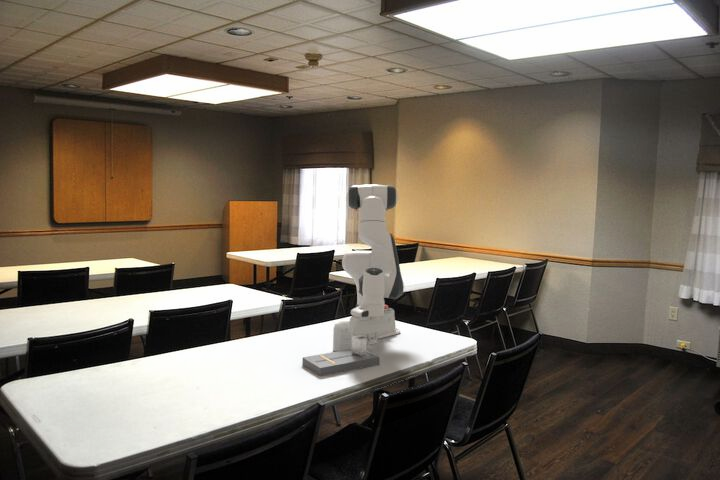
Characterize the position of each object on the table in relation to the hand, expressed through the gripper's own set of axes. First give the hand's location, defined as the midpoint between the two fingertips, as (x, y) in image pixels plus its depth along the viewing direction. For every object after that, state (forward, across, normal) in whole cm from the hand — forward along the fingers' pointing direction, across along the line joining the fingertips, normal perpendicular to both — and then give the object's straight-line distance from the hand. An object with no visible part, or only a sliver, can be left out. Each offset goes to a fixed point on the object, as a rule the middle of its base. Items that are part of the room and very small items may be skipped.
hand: (372, 344), depth 214 cm
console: (+6, +14, 0) cm, 15 cm away
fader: (+3, +6, 0) cm, 7 cm away
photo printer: (+6, +3, -15) cm, 17 cm away
